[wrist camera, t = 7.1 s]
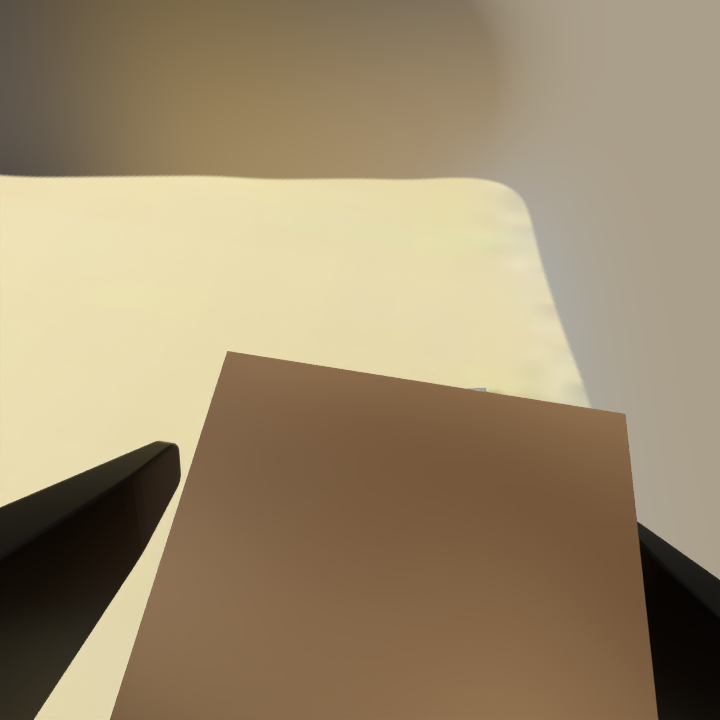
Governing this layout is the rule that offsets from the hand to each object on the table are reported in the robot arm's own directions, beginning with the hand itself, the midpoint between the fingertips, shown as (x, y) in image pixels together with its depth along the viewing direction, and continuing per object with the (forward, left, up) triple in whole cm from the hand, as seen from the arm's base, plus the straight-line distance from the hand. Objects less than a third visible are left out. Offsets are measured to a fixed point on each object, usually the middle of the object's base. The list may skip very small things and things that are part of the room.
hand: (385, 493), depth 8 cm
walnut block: (-1, 0, -8) cm, 8 cm away
